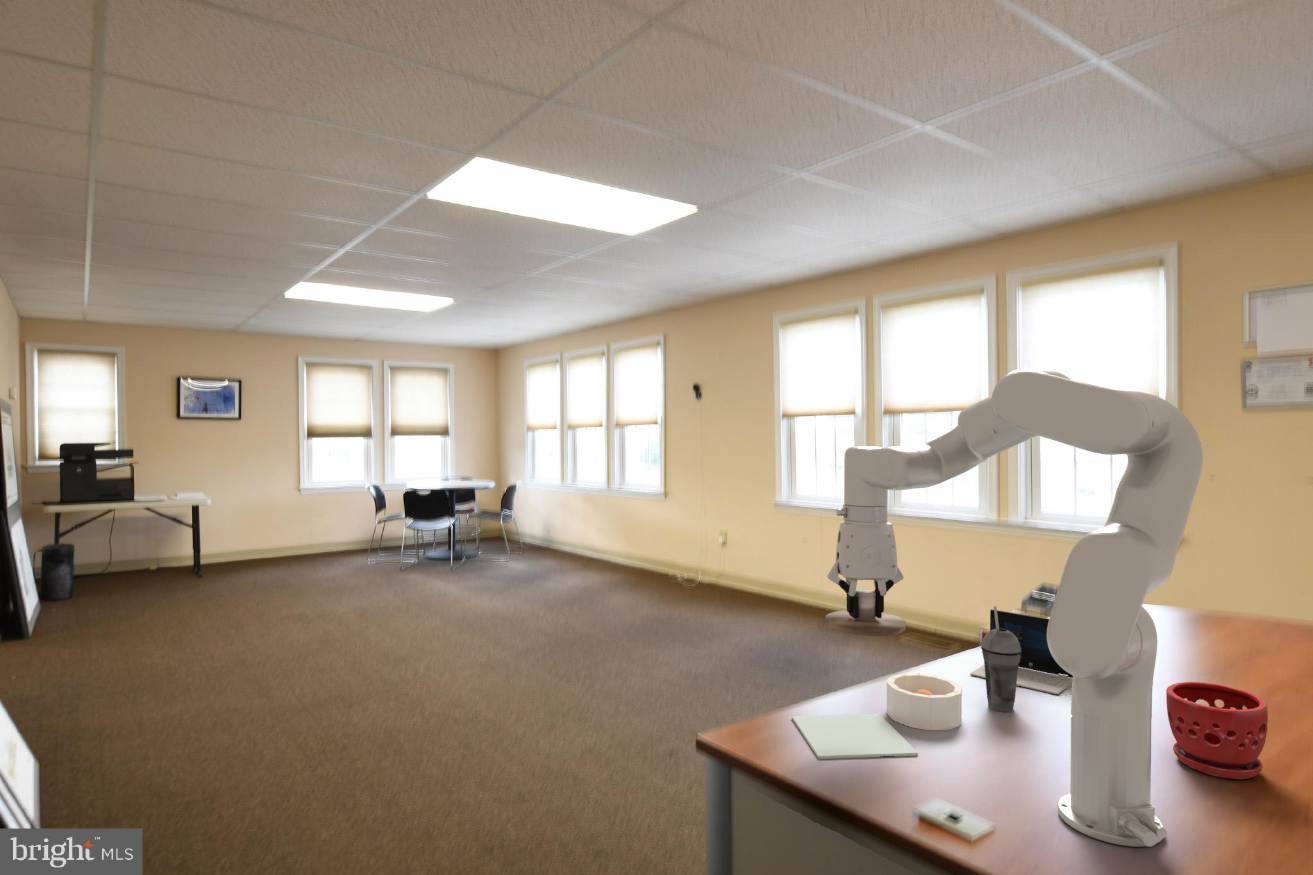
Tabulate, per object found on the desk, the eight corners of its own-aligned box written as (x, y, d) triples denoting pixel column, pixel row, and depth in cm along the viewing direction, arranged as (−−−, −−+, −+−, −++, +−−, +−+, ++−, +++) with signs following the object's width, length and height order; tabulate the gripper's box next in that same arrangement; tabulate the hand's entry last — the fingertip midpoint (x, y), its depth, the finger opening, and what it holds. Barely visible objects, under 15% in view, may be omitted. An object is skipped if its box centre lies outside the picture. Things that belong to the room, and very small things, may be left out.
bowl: (974, 729, 135) (974, 696, 135) (904, 731, 134) (904, 698, 134) (941, 702, 148) (941, 672, 148) (877, 704, 147) (877, 674, 147)
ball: (938, 714, 139) (938, 693, 139) (918, 715, 139) (918, 694, 139) (929, 706, 143) (929, 686, 143) (909, 707, 143) (909, 686, 143)
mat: (917, 755, 124) (917, 752, 124) (818, 758, 123) (818, 755, 123) (879, 716, 141) (879, 713, 141) (792, 718, 140) (792, 716, 140)
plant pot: (1169, 743, 129) (1170, 674, 129) (1266, 764, 121) (1267, 691, 121) (1161, 769, 119) (1162, 695, 119) (1267, 795, 111) (1268, 715, 111)
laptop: (969, 676, 165) (969, 618, 164) (990, 664, 174) (990, 608, 173) (1058, 697, 152) (1058, 634, 152) (1075, 682, 161) (1075, 622, 161)
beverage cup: (1026, 716, 141) (1026, 612, 141) (985, 713, 143) (986, 610, 142) (1015, 702, 148) (1016, 603, 148) (976, 699, 150) (977, 601, 149)
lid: (918, 635, 127) (919, 600, 127) (838, 636, 126) (838, 601, 126) (888, 614, 141) (889, 583, 141) (816, 615, 140) (816, 584, 140)
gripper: (826, 517, 129) (825, 622, 129) (919, 517, 130) (918, 621, 130) (814, 512, 136) (814, 611, 136) (902, 512, 137) (902, 610, 137)
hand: (865, 615), depth 133 cm, fingers closed on lid, 3 cm apart
